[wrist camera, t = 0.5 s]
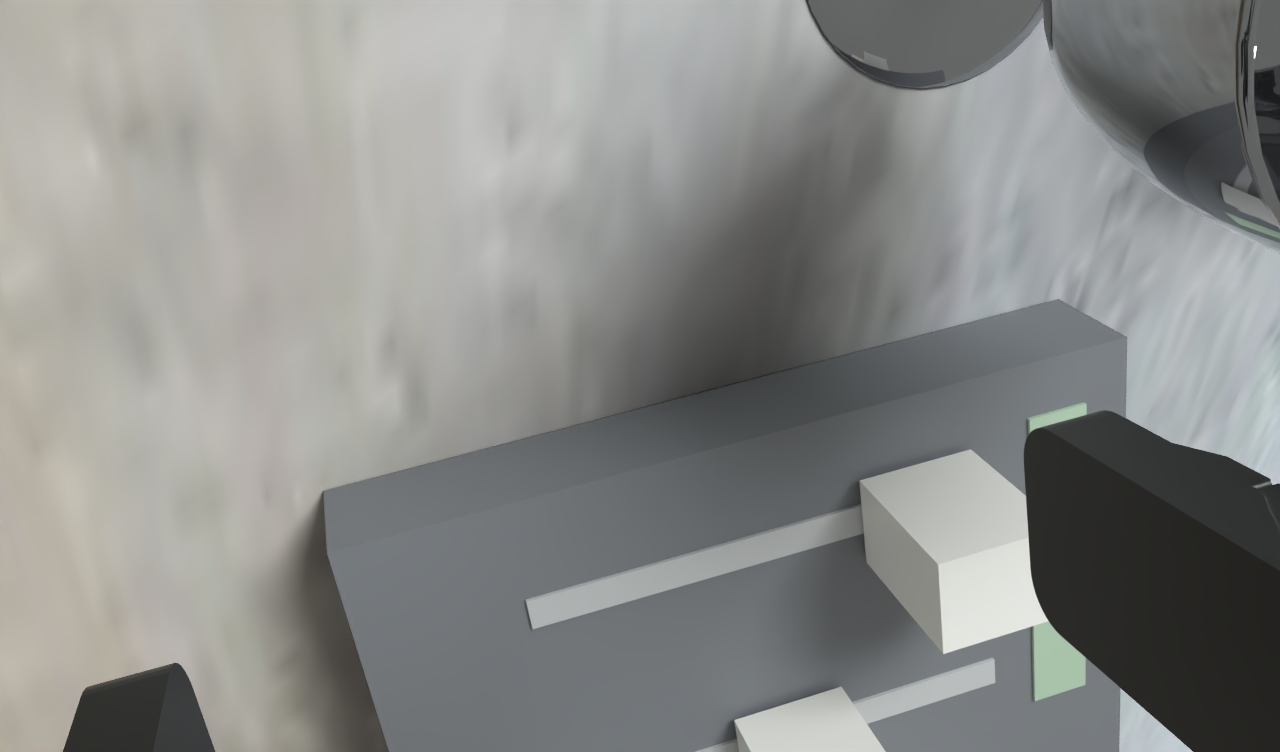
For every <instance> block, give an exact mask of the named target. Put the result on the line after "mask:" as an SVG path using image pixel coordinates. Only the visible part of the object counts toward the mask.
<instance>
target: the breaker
mask: <svg viewBox="0 0 1280 752" xmlns="http://www.w3.org/2000/svg"><path fill="white" fill-rule="evenodd" d="M859 483H860V494H861V506H862V517H863V529H864V540H865V551H866V562H867V564H868V565H869V566H870V567H871V568H872V570H873V571H874V572H875V573H876V574H877V576H878V577H879V578H880V579H881V580H882V582H883V583H884V584H885V585H886V586H887V588H888V589H889V590H890V591H891V592H892V593H893V595H894V596H895V597H896V598H897V599H898V601H899V602H900V603H901V604H902V605H903V607H904V608H905V609H906V610H907V611H908V613H909V614H910V615H911V616H912V617H913V619H914V620H915V621H916V622H917V623H918V624H919V626H920V627H921V628H922V629H923V630H924V632H925V633H926V634H927V635H928V636H929V638H930V639H931V640H932V641H933V642H934V644H935V645H936V646H937V647H938V648H939V650H940V651H941V652H942V653H943V654H945V653H949V652H952V651H955V650H958V649H961V648H965V647H968V646H971V645H974V644H977V643H981V642H984V641H987V640H990V639H993V638H997V637H1000V636H1003V635H1006V634H1009V633H1013V632H1016V631H1019V630H1022V629H1025V628H1028V627H1032V626H1035V625H1038V624H1041V623H1044V622H1048V619H1047V618H1046V616H1045V614H1044V612H1043V611H1042V608H1041V606H1040V604H1039V602H1038V599H1037V596H1036V594H1035V590H1034V587H1033V582H1032V577H1031V569H1030V553H1029V537H1028V521H1027V505H1026V495H1024V494H1023V493H1022V492H1021V491H1020V490H1018V489H1017V488H1016V487H1015V486H1014V485H1013V484H1011V483H1010V482H1009V481H1008V480H1007V479H1005V478H1004V477H1003V476H1002V475H1001V474H999V473H998V472H997V471H996V470H995V469H994V468H992V467H991V466H990V465H989V464H988V463H986V462H985V461H984V460H983V459H982V458H981V457H979V456H978V455H977V454H976V453H975V452H973V451H972V450H971V449H970V450H966V451H963V452H959V453H955V454H952V455H948V456H945V457H941V458H938V459H934V460H931V461H927V462H924V463H920V464H916V465H913V466H909V467H906V468H902V469H899V470H895V471H892V472H888V473H884V474H881V475H877V476H874V477H870V478H867V479H863V480H860V481H859Z"/></svg>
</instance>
